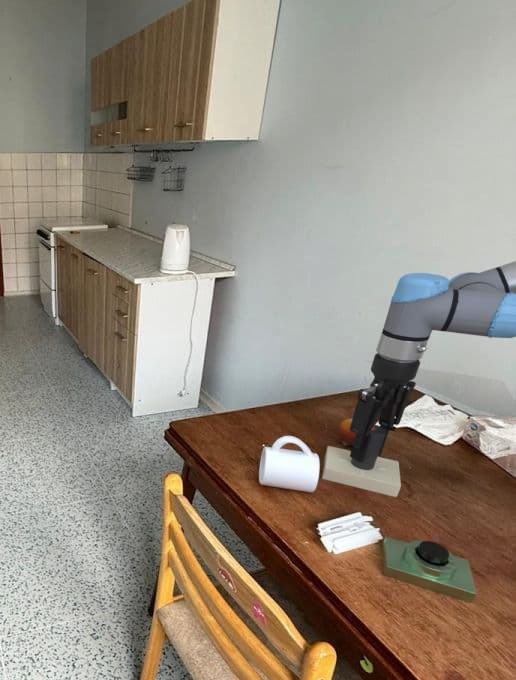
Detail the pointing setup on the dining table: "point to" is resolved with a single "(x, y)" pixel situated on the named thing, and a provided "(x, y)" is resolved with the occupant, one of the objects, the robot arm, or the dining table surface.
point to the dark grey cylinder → (371, 449)
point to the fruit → (346, 433)
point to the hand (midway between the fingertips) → (364, 456)
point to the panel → (362, 472)
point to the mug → (289, 466)
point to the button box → (427, 570)
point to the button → (433, 553)
